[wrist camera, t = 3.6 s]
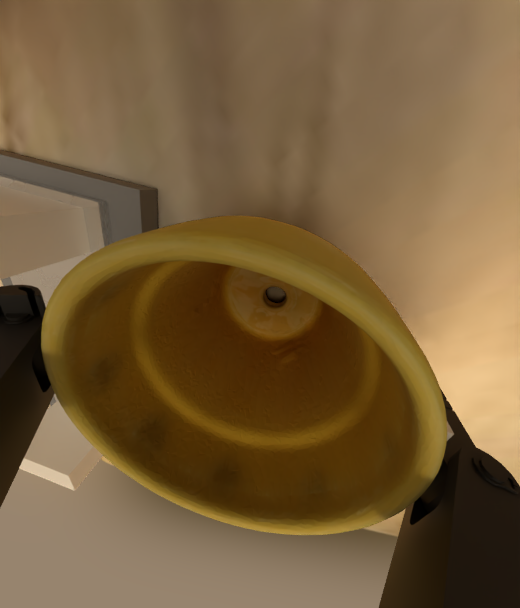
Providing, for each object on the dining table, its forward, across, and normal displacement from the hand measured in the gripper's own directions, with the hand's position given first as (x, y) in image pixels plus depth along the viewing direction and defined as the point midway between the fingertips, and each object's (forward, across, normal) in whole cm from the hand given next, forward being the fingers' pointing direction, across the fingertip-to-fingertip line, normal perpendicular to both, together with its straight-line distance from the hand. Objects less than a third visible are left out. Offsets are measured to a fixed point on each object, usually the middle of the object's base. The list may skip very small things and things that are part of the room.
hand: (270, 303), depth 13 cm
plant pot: (+2, 0, 0) cm, 2 cm away
